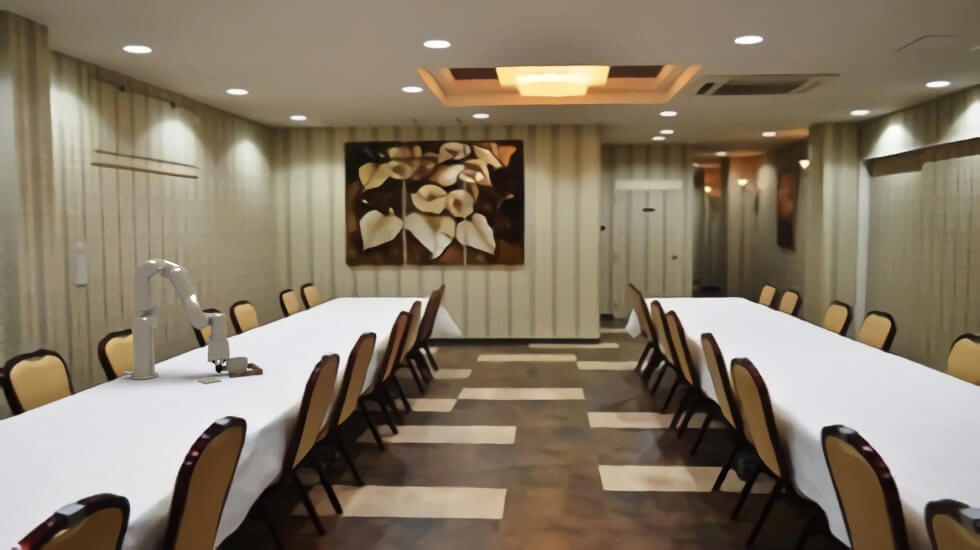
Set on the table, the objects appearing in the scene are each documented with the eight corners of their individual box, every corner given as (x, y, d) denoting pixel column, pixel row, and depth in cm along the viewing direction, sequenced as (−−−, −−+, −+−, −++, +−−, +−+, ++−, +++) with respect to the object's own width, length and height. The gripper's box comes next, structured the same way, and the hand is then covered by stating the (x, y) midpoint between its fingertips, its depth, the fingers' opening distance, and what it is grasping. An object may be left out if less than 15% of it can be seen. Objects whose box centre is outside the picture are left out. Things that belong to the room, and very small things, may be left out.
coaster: (205, 385, 343) (205, 382, 343) (197, 382, 348) (197, 380, 348) (221, 382, 349) (221, 380, 349) (213, 380, 354) (213, 377, 354)
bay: (229, 377, 358) (229, 372, 358) (221, 370, 375) (221, 365, 374) (262, 374, 367) (262, 369, 366) (252, 367, 383) (252, 362, 383)
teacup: (242, 376, 362) (242, 360, 361) (222, 375, 363) (221, 360, 362) (253, 370, 376) (253, 355, 375) (233, 369, 376) (233, 355, 376)
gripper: (204, 339, 356) (204, 375, 357) (235, 337, 364) (235, 372, 365) (201, 337, 362) (201, 372, 364) (231, 335, 370) (232, 369, 372)
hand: (218, 372), depth 364 cm, fingers closed
